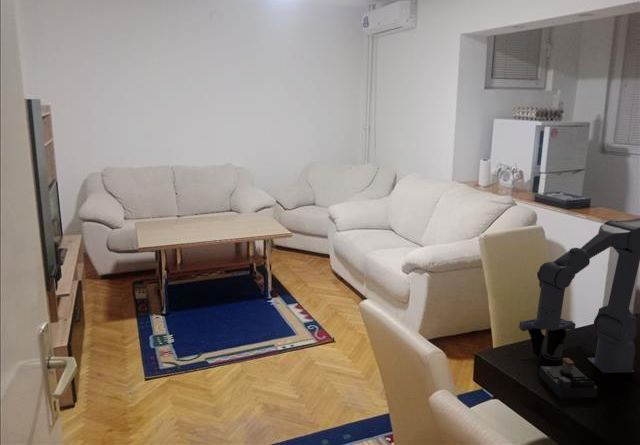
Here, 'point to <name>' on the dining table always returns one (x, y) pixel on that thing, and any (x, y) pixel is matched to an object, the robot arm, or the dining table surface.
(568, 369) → the breaker toggle
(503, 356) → the dining table surface
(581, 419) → the dining table surface
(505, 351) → the dining table surface
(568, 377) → the breaker box
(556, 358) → the energy drink
